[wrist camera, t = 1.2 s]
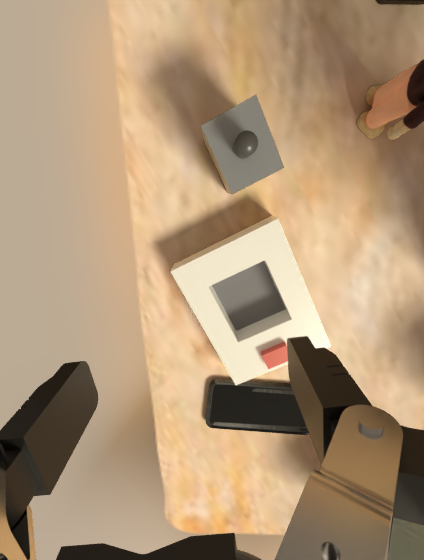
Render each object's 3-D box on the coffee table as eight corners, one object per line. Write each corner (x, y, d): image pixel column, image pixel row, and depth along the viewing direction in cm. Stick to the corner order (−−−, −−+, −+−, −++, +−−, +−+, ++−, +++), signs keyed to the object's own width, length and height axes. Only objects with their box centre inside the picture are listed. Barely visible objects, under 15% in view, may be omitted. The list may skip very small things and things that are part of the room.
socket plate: (271, 215, 30) (280, 219, 26) (321, 333, 34) (334, 350, 31) (174, 263, 31) (169, 273, 28) (233, 369, 36) (236, 390, 32)
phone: (311, 435, 39) (205, 427, 38) (308, 428, 40) (205, 421, 39) (324, 389, 36) (210, 380, 36) (321, 383, 37) (210, 375, 37)
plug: (244, 117, 27) (260, 84, 18) (267, 171, 28) (291, 165, 20) (203, 140, 27) (199, 119, 19) (227, 192, 29) (234, 195, 20)
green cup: (333, 512, 45) (375, 623, 34) (329, 468, 42) (373, 574, 30) (397, 504, 44) (461, 613, 33) (398, 458, 41) (469, 563, 30)
